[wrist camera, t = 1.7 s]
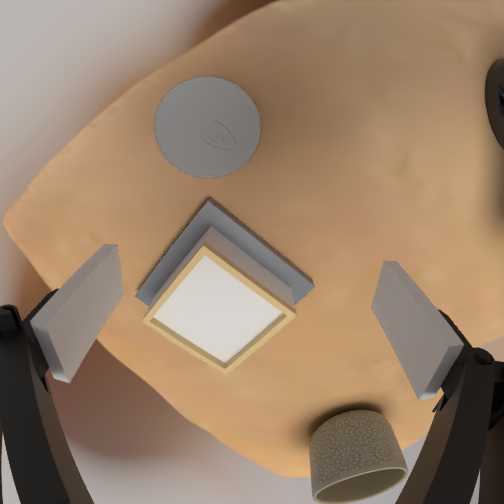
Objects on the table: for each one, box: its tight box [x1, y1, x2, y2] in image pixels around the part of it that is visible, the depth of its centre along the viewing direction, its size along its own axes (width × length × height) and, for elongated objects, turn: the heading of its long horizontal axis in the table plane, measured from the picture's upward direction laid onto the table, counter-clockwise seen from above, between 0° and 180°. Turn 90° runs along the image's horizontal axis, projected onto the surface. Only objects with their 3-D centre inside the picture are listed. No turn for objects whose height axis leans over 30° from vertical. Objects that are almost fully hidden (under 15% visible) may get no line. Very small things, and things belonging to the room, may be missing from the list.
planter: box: [309, 410, 408, 504], centre depth 44 cm, size 17×17×15 cm
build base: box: [135, 198, 315, 374], centre depth 35 cm, size 16×16×7 cm
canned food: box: [154, 76, 261, 178], centre depth 25 cm, size 8×8×11 cm
